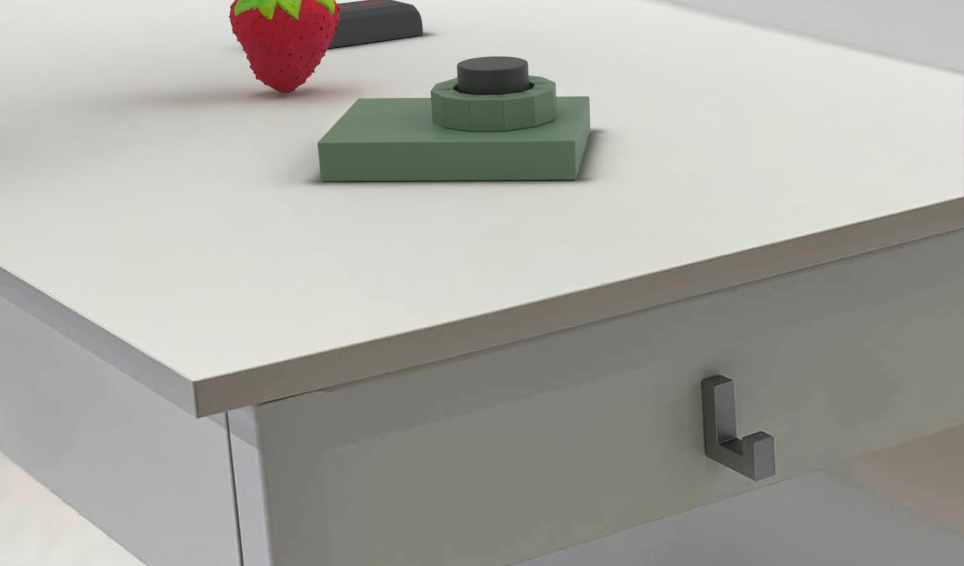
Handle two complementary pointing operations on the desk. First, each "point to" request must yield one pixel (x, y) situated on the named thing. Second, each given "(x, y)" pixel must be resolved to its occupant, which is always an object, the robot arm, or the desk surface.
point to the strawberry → (284, 37)
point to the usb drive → (375, 22)
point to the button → (492, 75)
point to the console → (459, 137)
